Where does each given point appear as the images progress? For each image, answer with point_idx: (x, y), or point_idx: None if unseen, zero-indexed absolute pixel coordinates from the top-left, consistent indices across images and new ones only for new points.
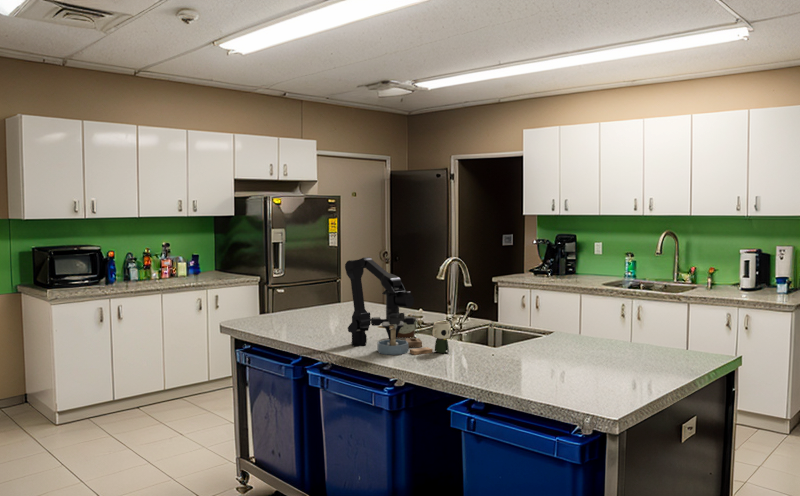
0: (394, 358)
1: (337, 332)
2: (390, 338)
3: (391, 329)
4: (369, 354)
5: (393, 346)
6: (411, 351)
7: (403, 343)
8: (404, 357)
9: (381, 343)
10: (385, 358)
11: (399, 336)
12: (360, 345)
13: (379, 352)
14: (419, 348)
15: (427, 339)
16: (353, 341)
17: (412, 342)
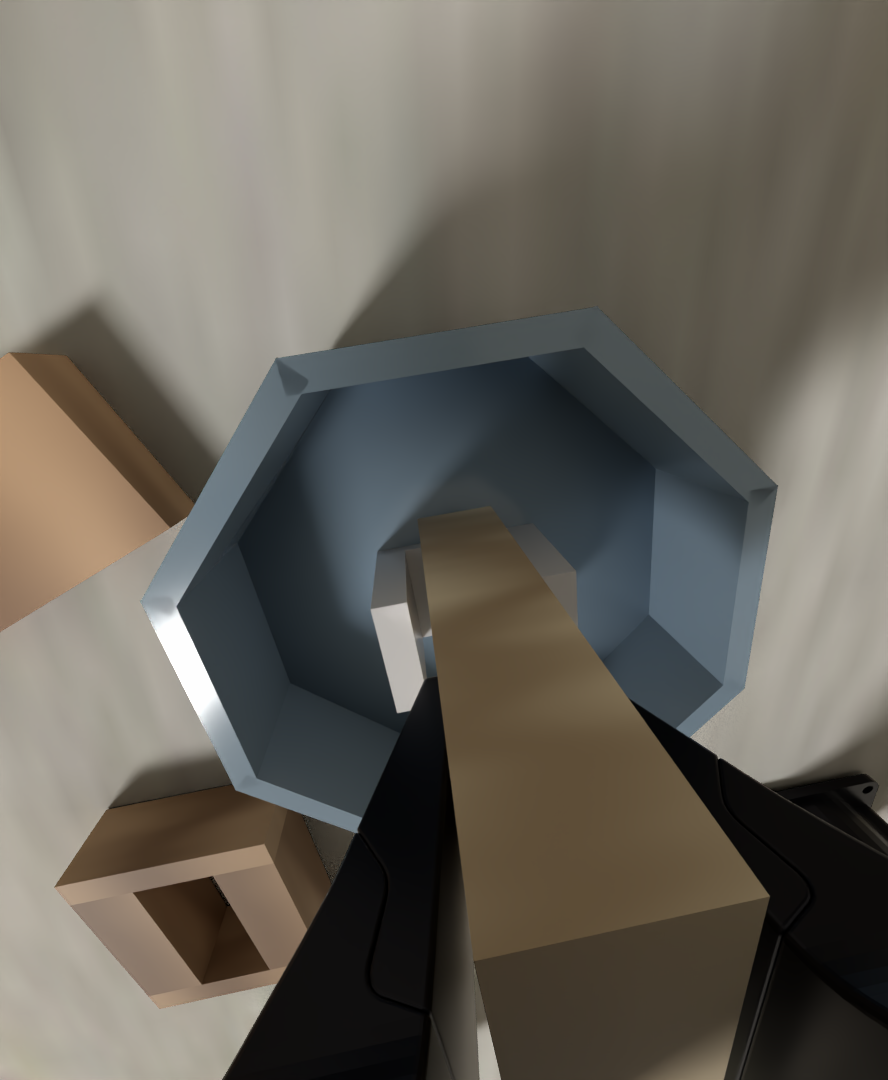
0: (417, 10)
1: None
2: None
3: (723, 957)
4: (797, 396)
5: (466, 329)
6: (133, 464)
7: (306, 752)
8: (218, 113)
9: (645, 708)
10: (596, 26)
11: None
12: (790, 790)
13: (654, 476)
14: (4, 598)
15: (145, 1042)
16: (886, 835)
17: (196, 850)
